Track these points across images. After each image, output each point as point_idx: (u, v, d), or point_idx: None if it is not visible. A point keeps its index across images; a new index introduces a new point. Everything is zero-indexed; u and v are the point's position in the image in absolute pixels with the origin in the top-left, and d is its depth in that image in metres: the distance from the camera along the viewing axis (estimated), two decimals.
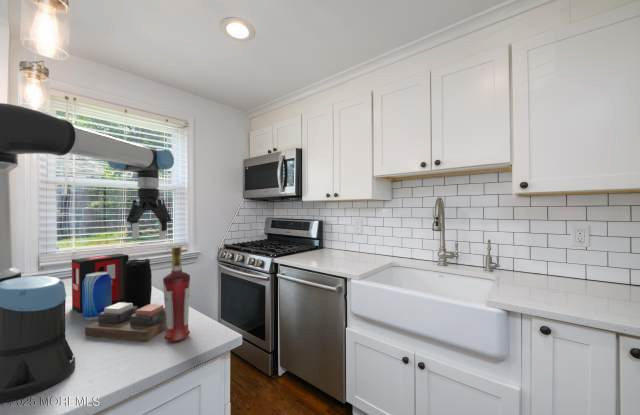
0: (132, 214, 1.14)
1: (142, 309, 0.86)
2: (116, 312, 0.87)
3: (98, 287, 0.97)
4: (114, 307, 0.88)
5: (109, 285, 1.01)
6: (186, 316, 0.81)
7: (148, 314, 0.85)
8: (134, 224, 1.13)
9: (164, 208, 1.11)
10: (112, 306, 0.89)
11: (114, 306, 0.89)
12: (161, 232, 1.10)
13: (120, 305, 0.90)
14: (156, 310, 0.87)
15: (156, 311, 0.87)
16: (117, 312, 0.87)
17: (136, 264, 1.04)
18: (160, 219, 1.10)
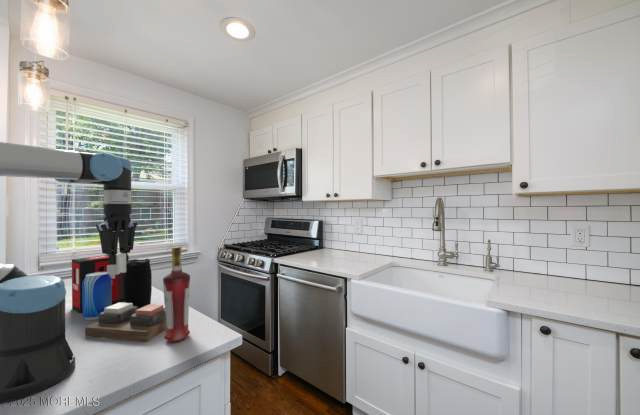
0: None
1: (142, 309, 0.86)
2: (116, 312, 0.87)
3: (98, 287, 0.97)
4: (114, 307, 0.88)
5: (109, 285, 1.01)
6: (186, 316, 0.81)
7: (148, 314, 0.85)
8: None
9: (103, 237, 0.85)
10: (112, 306, 0.89)
11: (114, 306, 0.89)
12: (111, 265, 0.89)
13: (120, 305, 0.90)
14: (156, 310, 0.87)
15: (156, 311, 0.87)
16: (117, 312, 0.87)
17: (136, 264, 1.04)
18: None
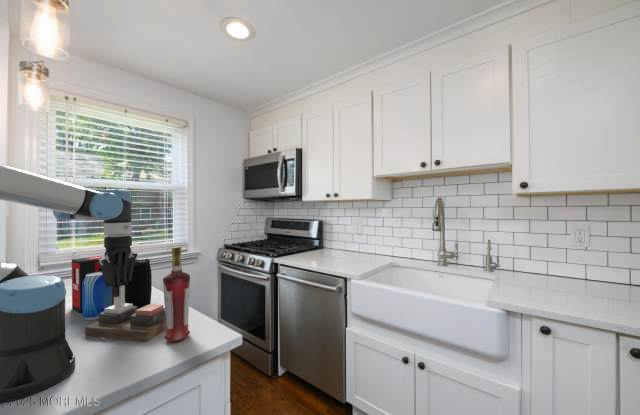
0: None
1: (142, 309, 0.86)
2: (116, 313, 0.87)
3: (98, 287, 0.97)
4: (114, 308, 0.88)
5: None
6: (186, 316, 0.81)
7: (148, 314, 0.85)
8: None
9: (105, 271, 0.85)
10: (112, 307, 0.89)
11: (114, 307, 0.89)
12: (115, 297, 0.89)
13: None
14: (156, 310, 0.87)
15: (156, 311, 0.87)
16: (117, 313, 0.87)
17: (136, 264, 1.04)
18: None
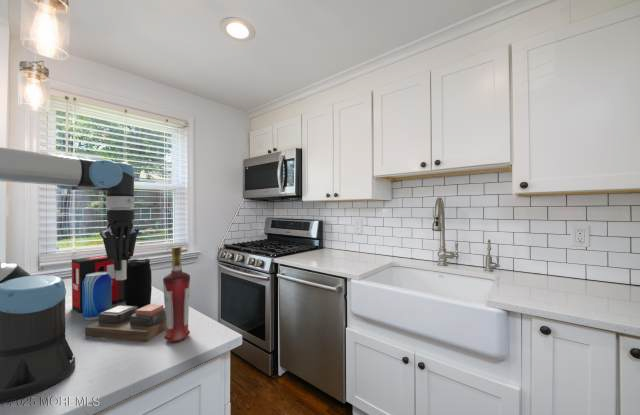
0: None
1: (142, 309, 0.86)
2: None
3: (98, 287, 0.97)
4: (114, 310, 0.88)
5: (109, 285, 1.01)
6: (186, 316, 0.81)
7: (148, 314, 0.85)
8: None
9: (107, 243, 0.85)
10: (112, 309, 0.89)
11: (114, 309, 0.89)
12: (116, 271, 0.89)
13: (120, 308, 0.90)
14: (156, 310, 0.87)
15: (156, 311, 0.87)
16: None
17: (136, 264, 1.04)
18: None
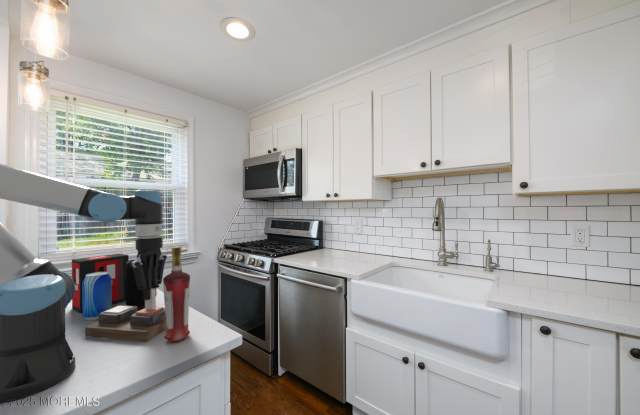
0: None
1: (142, 311, 0.86)
2: None
3: (98, 287, 0.97)
4: (114, 310, 0.88)
5: (109, 285, 1.01)
6: (186, 316, 0.81)
7: None
8: None
9: (137, 273, 0.83)
10: (112, 309, 0.89)
11: (114, 309, 0.89)
12: (146, 300, 0.87)
13: (120, 308, 0.90)
14: (156, 312, 0.87)
15: None
16: None
17: None
18: None
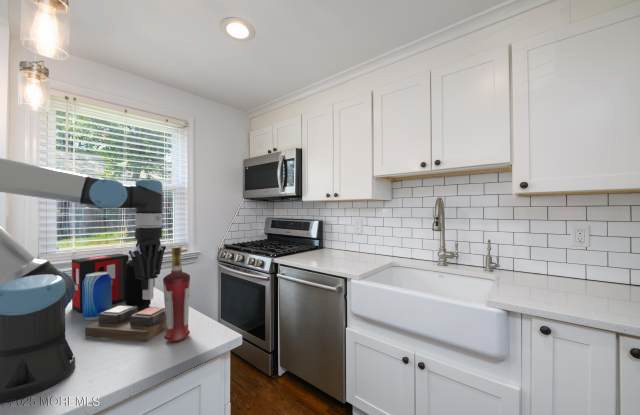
0: None
1: (142, 312, 0.86)
2: None
3: (98, 287, 0.97)
4: (114, 310, 0.88)
5: (109, 285, 1.01)
6: (186, 316, 0.81)
7: None
8: None
9: (136, 263, 0.83)
10: (112, 309, 0.89)
11: (114, 309, 0.89)
12: (144, 290, 0.87)
13: (120, 308, 0.90)
14: None
15: None
16: None
17: None
18: None
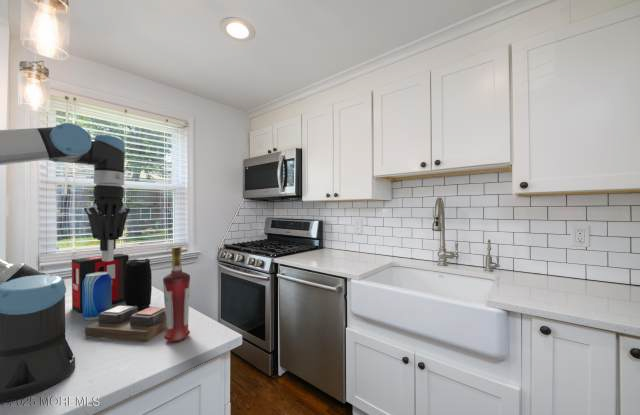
0: (116, 225, 0.87)
1: (142, 312, 0.86)
2: None
3: (98, 287, 0.97)
4: (114, 310, 0.88)
5: (109, 285, 1.01)
6: (186, 316, 0.81)
7: None
8: None
9: (92, 220, 0.79)
10: (112, 309, 0.89)
11: (114, 309, 0.89)
12: (103, 252, 0.83)
13: (120, 308, 0.90)
14: None
15: None
16: None
17: (136, 264, 1.04)
18: None
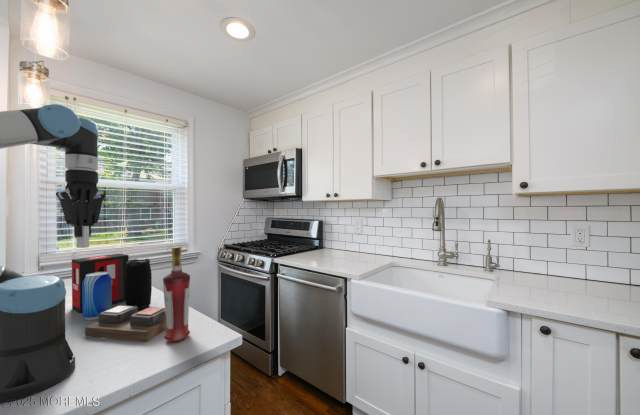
0: (91, 211, 0.85)
1: (142, 312, 0.86)
2: None
3: (98, 287, 0.97)
4: (114, 310, 0.88)
5: (109, 285, 1.01)
6: (186, 316, 0.81)
7: None
8: None
9: (65, 206, 0.77)
10: (112, 309, 0.89)
11: (114, 309, 0.89)
12: (78, 238, 0.81)
13: (120, 308, 0.90)
14: None
15: None
16: None
17: (136, 264, 1.04)
18: None
